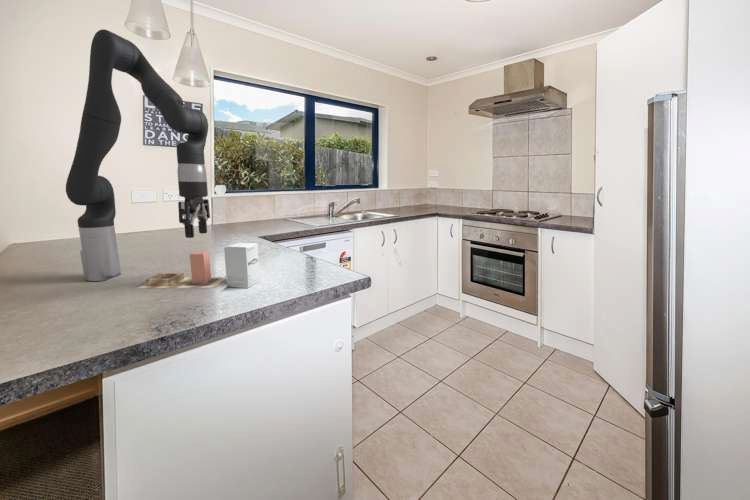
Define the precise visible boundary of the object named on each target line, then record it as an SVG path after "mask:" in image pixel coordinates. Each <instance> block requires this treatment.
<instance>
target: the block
mask: <svg viewBox="0 0 750 500" xmlns="http://www.w3.org/2000/svg"><path fill="white" fill-rule="evenodd" d="M189 261H190V263H189V264H190V270H191V271H190V272H191V278H192V283H207V282H208V281H210V280H211V277H212V272H211V262H210V261H211V260H210V252H209V251H199V250H198V251H194V252H191V253H189Z"/></svg>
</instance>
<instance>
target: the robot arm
mask: <svg viewBox="0 0 750 500" xmlns="http://www.w3.org/2000/svg"><path fill="white" fill-rule="evenodd" d="M90 44H91V45H90V50H89V51H90V53H89V69H88V82H87V90H86V95H85V101H84V104H83V105H84V106H83V110H82V115H81V120H80V128H79V133H78V139H77V144H76V147H75V152H74V157H73V160H72V162H71V167H70V170H69V173H68V175H67V179H66V183H65V193H66V196H67V198H68V200H69V201H70V202H71V203H73V204H74V205H77V206H85V207H86V209H85V210H84V213H83V214H82V215H80V216H79V217H78V218H77V227H78V232H79V239H80V240H79V241H80V247H81V249H80V251H79V252H80V260H81V265H82V273H83V278H84V280H86V281H89V282H100V281H101V282H102V281H108V280H111V279H113V278H116V277H118V276H120V275H122V271H121V263H120V257H119V255H120V254H119V249H118V243H117V236H116V235H117V234H116V229H115V218H116V213H117V212H116V211H117V209H116V199H115V192H114V187H113V185H112V183H111V182H110V180H109V179H107V177H105V176H104V175H99V171H100V167H101V165H102V162H103V161H104V159H105V158H106V156H107V155H108V154H109V153H110V151H111V150H112V148H113V147H114V146H115V144H116V142H117V141H118V138H119V134H120V128H121V124H122V114H121V113H122V112H121V110H120V107H119V105H118V102H117V99H116V97H115V94H114V91H113V86H112V85H113V83H112V82H113V81H112V79H113V71H114V70H116V71H118V72H121V73H126V74H128V75H129V76H131V77H132V78H133V79H135V80H136V81H138V82H139V84H140V86H141V91H142V92H143V94H144V96H145V97H146V98H147V99H148V101H150V103H151V104H153V105H154V107H156V109H158V110H159V111H160V113H161V116H162V118H163V119H164V121H165V123H166V125H167V126H168V127H169V128H170V129H172V130H174V131H175V132H177V133H179V134H180V133H181V134H187V138H186V141H183V142H179V143H177V145H176V159H177V171H176V172H177V173H176V174H177V183H178V195H179V197H182V198H184V201H178V202H177V207H178V208H177V209H178V222H179V223H180V224H182V225H184V234H185V238H186V239H188V238H189V239H192V238H194V237H195V230H194V229H195V228H194V222H195V219H196V218H197V221H198V222H197V224H198V233H199V234H207V233H208V225H207V221H208V220H209V219H211V213H210V203H209V201H210V200H209V199H208V198H207V199H206V197H208V196H209V195H208V194H209V193H208V177H207V170H206V169H207V168H206V164H205V163H206V162H205V161H206V160H205V146H206V143H207V136H208V132H209V121H208V118H207V116H206V115H205V113H204V112H203V111H202V110H199V109H197V108H196V109H195V108H192V107H187V106H184V100H183V98H182V96H180V94H178V93H177V91H176V90H175V89H173V87H172V86H171V85H170V84H169V83H167V82H166V81H165V80H164V79H163V78H162V77H161V76H160V74H159V73H158V72H157V71H156V70H155V69H154V67H153V66H152V65H151V64H150V62H149V61H148V59H147V58H146V57H145V55H144V54H143V52H142V50H141V49H139V47H138V46H137V45H136V44H135V43H133V42H132V41H130V40H129V39H126V38H124V37H122V36H121V35H118V34H117V33H115V32H112V31H110V30H108V29H104V28H103V29H99V30H98V31H96V32H95V34H94V35H93V38H92V40H91V43H90Z"/></svg>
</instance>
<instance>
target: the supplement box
mask: <svg viewBox="0 0 750 500" xmlns="http://www.w3.org/2000/svg"><path fill="white" fill-rule="evenodd" d="M223 250H224V263H225V275H226V276H225V277H226V279H225V280H226V284H227V285H226V288H227V287H228V288H240V289H249V288H250V287H252V286H254V285H256V284H257V283H259V282H261V281H260V280H261V278H260V261H259V245H258V243H255V242H253V243H252V242H236V243H233V244H229V245H227V246H224V247H223Z"/></svg>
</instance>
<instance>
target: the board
mask: <svg viewBox="0 0 750 500" xmlns="http://www.w3.org/2000/svg"><path fill="white" fill-rule="evenodd" d="M225 280H226V276H225V277H223V276H222V277H221V276H220V277H212V276H211V280H210V281H208V282H207V283H192V277H185V272H159V273H157V274H155V275H152V276H151V277H148V278H146V279H145V283H144V284H142V285H140V286H137V289H188V288H189V289H192V288H193V289H199V288H200V289H202V288H203V289H204V288H205V289H207V288H208V289H211V288H215V287H216V286H217V285H219V284H220V283H222V282H223V281H225Z"/></svg>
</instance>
